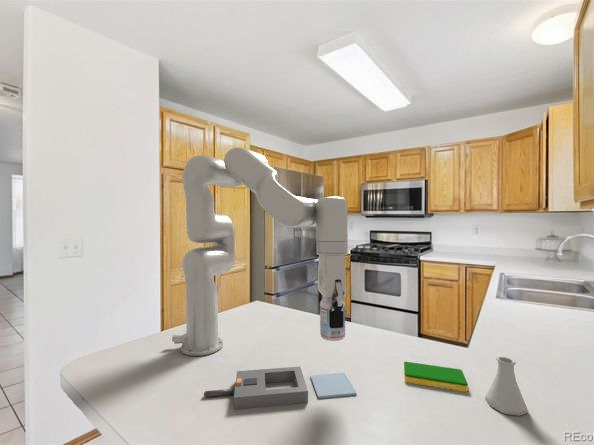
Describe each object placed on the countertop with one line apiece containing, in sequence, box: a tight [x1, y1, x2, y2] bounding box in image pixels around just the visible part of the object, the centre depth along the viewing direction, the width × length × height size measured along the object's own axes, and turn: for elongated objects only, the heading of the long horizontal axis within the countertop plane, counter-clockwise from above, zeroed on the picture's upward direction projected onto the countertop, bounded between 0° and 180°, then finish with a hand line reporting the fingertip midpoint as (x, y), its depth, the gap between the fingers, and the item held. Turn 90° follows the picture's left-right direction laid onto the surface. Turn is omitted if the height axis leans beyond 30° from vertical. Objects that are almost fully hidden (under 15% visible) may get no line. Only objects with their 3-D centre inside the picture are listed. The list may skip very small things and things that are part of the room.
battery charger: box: [203, 365, 309, 410], centre depth 68 cm, size 23×11×3 cm, turn 98°
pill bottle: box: [319, 295, 346, 342], centre depth 70 cm, size 6×6×11 cm
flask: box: [484, 356, 529, 417], centre depth 63 cm, size 7×7×10 cm
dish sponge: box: [403, 361, 469, 393], centre depth 73 cm, size 7×14×2 cm, turn 71°
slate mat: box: [310, 372, 358, 399], centre depth 71 cm, size 9×9×1 cm
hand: (332, 321), depth 70 cm, fingers closed on pill bottle, 6 cm apart
